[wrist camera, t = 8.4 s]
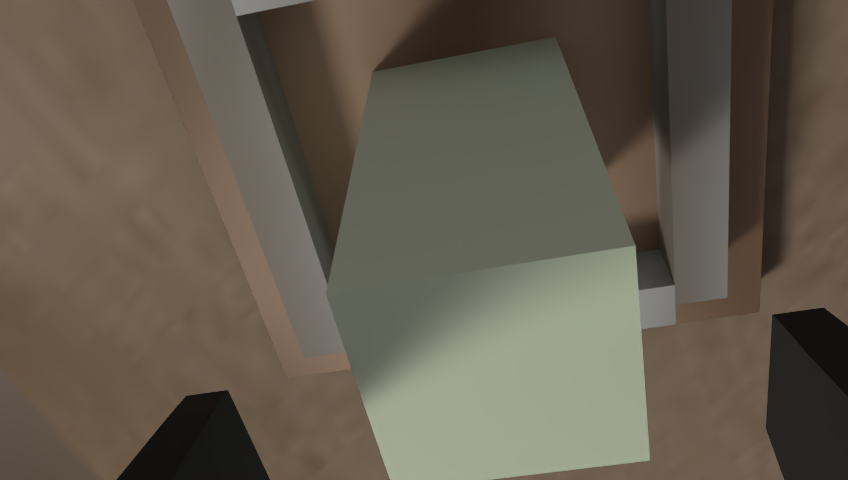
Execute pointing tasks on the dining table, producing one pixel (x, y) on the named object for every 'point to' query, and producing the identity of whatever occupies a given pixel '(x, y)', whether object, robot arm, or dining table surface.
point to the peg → (488, 274)
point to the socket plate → (451, 36)
